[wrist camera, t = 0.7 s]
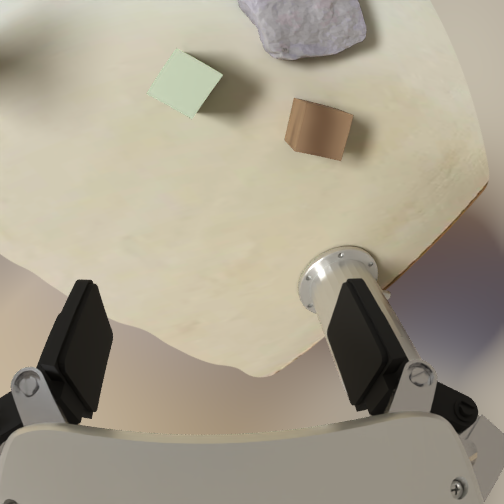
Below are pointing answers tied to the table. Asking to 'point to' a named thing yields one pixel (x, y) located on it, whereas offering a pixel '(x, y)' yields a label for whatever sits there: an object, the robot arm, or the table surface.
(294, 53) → the stone block
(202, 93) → the sage block
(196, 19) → the table surface
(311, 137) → the walnut block
